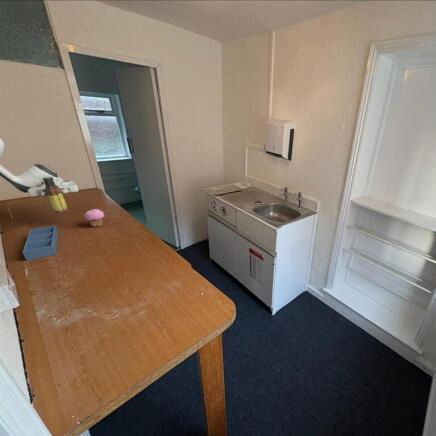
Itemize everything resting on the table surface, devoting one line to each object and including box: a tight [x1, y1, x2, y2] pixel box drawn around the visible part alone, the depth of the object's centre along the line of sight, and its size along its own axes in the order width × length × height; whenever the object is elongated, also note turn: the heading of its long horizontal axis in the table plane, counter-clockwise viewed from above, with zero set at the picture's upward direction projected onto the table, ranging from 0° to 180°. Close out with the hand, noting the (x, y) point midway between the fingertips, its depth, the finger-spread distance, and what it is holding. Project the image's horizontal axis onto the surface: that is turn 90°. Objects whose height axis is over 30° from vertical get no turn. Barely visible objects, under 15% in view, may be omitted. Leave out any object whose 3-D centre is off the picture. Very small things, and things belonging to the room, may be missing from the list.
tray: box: [22, 225, 59, 262], centre depth 113 cm, size 9×27×4 cm, turn 41°
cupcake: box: [83, 208, 105, 228], centre depth 134 cm, size 9×9×10 cm
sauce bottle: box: [43, 176, 68, 214], centre depth 128 cm, size 7×6×20 cm
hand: (53, 193), depth 127 cm, fingers closed on sauce bottle, 6 cm apart
